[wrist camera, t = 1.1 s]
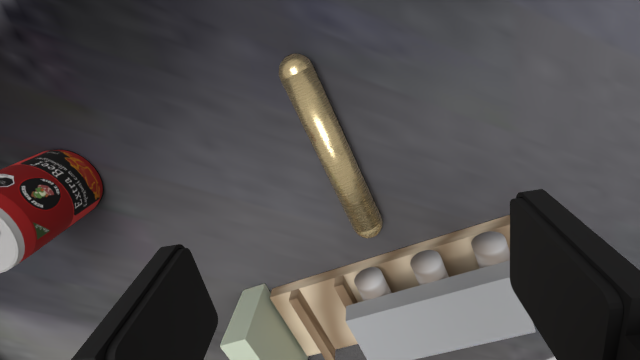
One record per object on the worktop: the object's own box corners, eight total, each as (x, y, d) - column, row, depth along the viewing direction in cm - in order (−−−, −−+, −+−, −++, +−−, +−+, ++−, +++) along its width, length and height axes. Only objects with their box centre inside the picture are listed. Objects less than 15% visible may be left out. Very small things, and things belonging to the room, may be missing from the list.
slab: (509, 260, 32) (518, 274, 30) (526, 315, 34) (535, 332, 33) (346, 305, 36) (345, 321, 34) (371, 352, 39) (372, 368, 37)
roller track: (509, 214, 35) (528, 240, 31) (531, 289, 39) (551, 321, 34) (272, 288, 42) (263, 317, 38) (308, 346, 45) (303, 378, 41)
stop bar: (264, 283, 42) (245, 339, 35) (308, 352, 46) (299, 414, 39) (243, 290, 43) (219, 346, 35) (288, 357, 47) (275, 419, 39)
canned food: (119, 192, 39) (36, 252, 29) (73, 222, 41) (-19, 288, 31) (67, 133, 36) (-44, 177, 26) (20, 169, 39) (-97, 222, 29)
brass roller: (306, 46, 31) (301, 49, 28) (385, 222, 37) (387, 238, 34) (276, 61, 31) (268, 65, 29) (359, 231, 38) (359, 247, 35)
